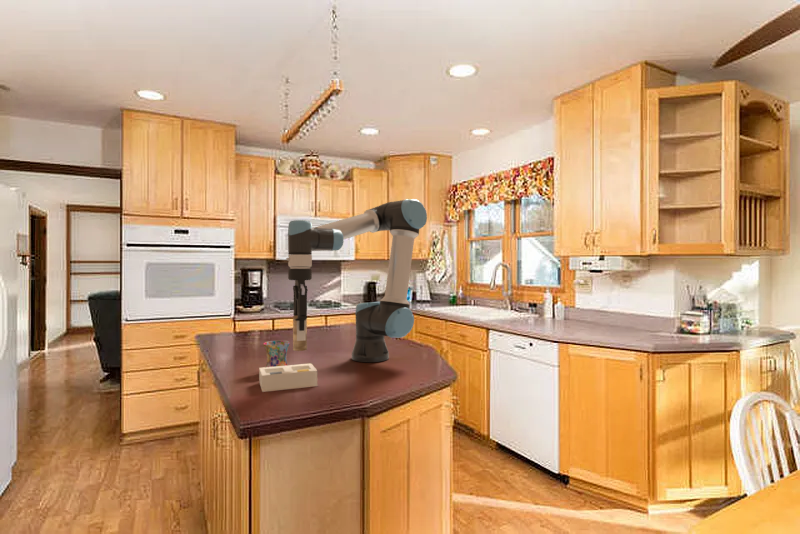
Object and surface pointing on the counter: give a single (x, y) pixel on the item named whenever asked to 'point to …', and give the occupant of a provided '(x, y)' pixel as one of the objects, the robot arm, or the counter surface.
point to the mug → (276, 353)
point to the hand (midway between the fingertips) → (300, 339)
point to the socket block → (287, 377)
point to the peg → (296, 344)
